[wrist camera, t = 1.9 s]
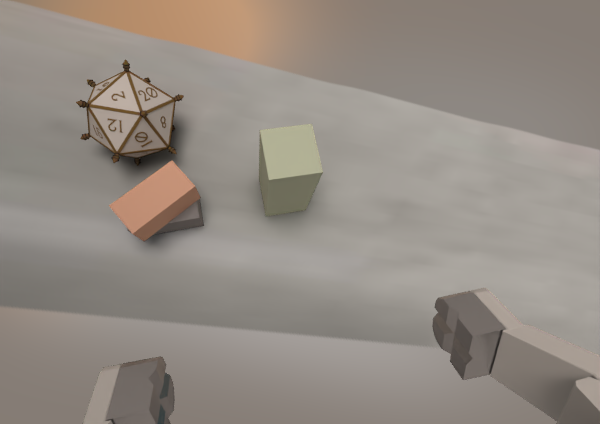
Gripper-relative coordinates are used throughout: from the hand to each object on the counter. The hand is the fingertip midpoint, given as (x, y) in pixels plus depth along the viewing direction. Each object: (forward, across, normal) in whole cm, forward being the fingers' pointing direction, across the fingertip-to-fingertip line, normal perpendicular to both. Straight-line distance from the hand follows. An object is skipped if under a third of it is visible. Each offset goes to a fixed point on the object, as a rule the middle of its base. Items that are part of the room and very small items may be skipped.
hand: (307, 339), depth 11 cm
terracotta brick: (+23, +8, +6) cm, 25 cm away
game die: (+31, +10, +2) cm, 32 cm away
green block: (+25, -2, +8) cm, 26 cm away
